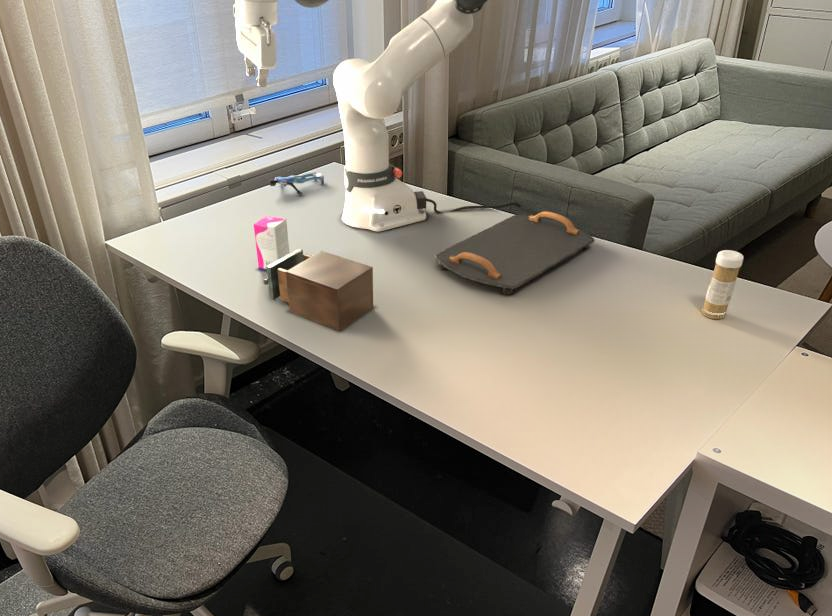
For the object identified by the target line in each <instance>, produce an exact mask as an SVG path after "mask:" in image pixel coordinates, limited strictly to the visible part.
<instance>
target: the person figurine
mask: <svg viewBox="0 0 832 616" xmlns="http://www.w3.org/2000/svg"><path fill="white" fill-rule="evenodd" d="M311 181H314V182H317V181H320V184H321V185H322V186H323V185H324V183H325V177H324V175H323V174H322V173H320V172H319V173H317V172H313V173H304V174H301V175H299V174H298V175H297V174H296V175H293V174H291V175H289V176H287V177H283V176H280V175H279V176H276V177H274V179H269V180H268V184H269V186H270V187H276V185H277V184H279V185H280V186H281V187H283V186H284V187H287V186H291V188H293V189H294V190H295V191H296V193H297V195H299V196H302V195H303V192H301V191H300V190H299V189H298V188H297V187H296V185H295V184H304V183H308V182H311Z"/></svg>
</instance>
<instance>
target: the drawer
mask: <svg viewBox="0 0 832 616" xmlns="http://www.w3.org/2000/svg"><path fill="white" fill-rule="evenodd" d="M312 256H313V255H312V254H309V253H304V250H303V249H302V248H298V249H296V250H294V251H292V252H290V254H288V255H286V256H285V257H283V258H281V259H279V260H277V261H275V262H274V263H272V264H270V265H268V266H266V269H267V271H266V277H267V278H265V279H263V285H265V286H268V295H269V299H270V300H272V301H276V300H277V299H278V298H280V299H279V300H281V301H284V302H286V303H289V300H288V290H287V279H286V271H287V270H289V269H291V268H293V267H294V266H296V265H298V264H300V263H301V262H303V261H305V260H307V259H308V258H310V257H312Z"/></svg>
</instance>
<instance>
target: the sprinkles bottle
mask: <svg viewBox="0 0 832 616" xmlns="http://www.w3.org/2000/svg"><path fill="white" fill-rule="evenodd" d="M744 258H745V257H744V255H743V254H742V253H741V252H738V251H736V250H731V249H724V250H720V251H718V253H717V254H716V258H715V266H714V269H713V273H712V275H711V279H710V282H709V285H708V288H707V292H706V295H705V300H704V304H703V307H704V309H705V310H707V311H709V312H712V313H724V312H726V313H725V314H724V315H719V316H718V315H711V314H708V313H706V312H705V311H704V310H703V308H702V309H701V313H702V315H703V316H705V317H706V318H708V319H711V320H722V319H724V318H725V317H726V316H727V310H728V307H729V305H730V302H731V299H732V296H733V293H734V289H735V285H736V283H737V279H738V275H739V272H740V269H741V267H742V265H743V263H744Z"/></svg>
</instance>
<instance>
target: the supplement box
mask: <svg viewBox="0 0 832 616" xmlns="http://www.w3.org/2000/svg"><path fill="white" fill-rule="evenodd" d="M287 221H288V220H287V218H282V217H277V216H276V217H275V216H269V215H265V216H263V217H262V218H261V219H259V220H258V221H256V222H254V223H253V231H254V240H255V241H254V242H255V248H256V257H257V265H258V270H259V271H265V272H267V269H266V266H268V265H270V264H272V263H274V262H275V261H277V260H279V259H281V258H283V257H285V256H286V255H288V254H290V253H291V252H290V243H289V242H290V241H289V233H288V232H289V231H288V222H287Z"/></svg>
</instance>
